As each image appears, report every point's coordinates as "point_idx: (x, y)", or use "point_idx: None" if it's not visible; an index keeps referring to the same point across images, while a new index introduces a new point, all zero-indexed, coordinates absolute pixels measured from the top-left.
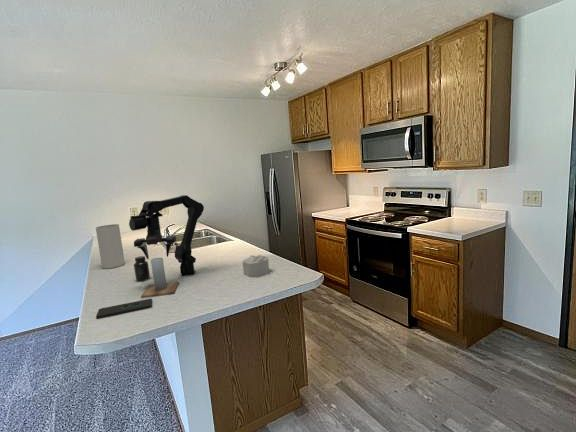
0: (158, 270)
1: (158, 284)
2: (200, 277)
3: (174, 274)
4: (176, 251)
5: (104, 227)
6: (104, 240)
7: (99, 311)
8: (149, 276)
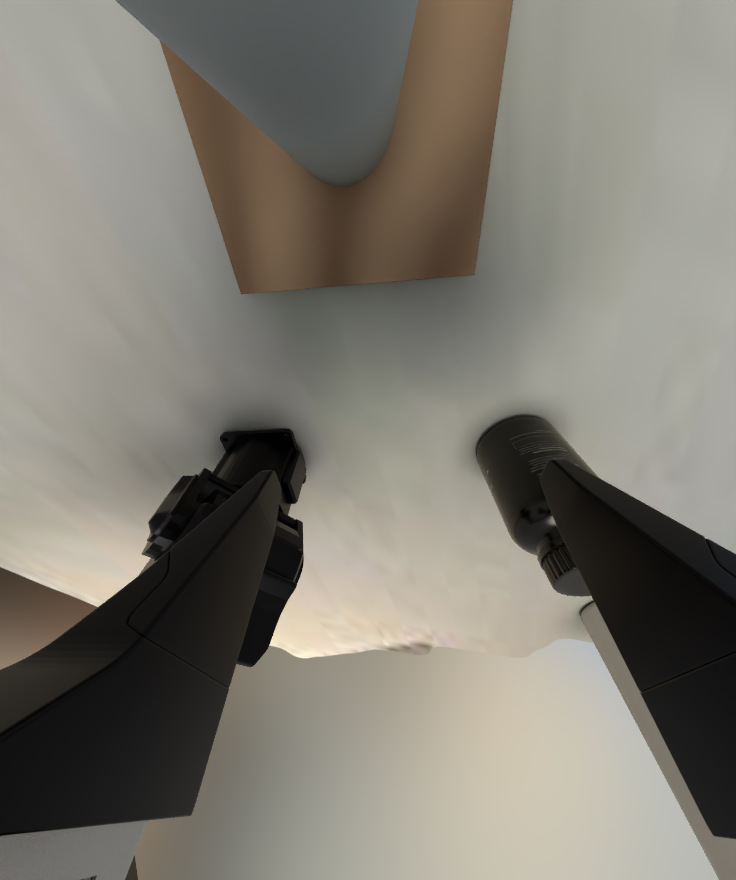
0: None
1: None
2: (145, 373)
3: (347, 467)
4: (263, 595)
5: None
6: None
7: None
8: (480, 452)
